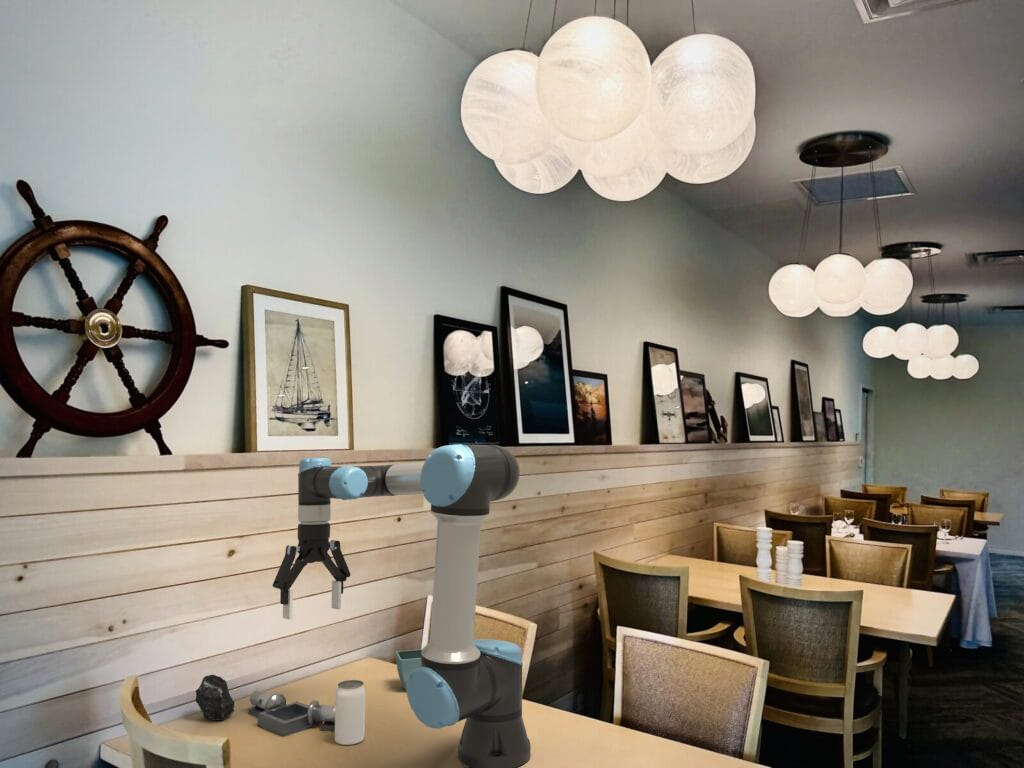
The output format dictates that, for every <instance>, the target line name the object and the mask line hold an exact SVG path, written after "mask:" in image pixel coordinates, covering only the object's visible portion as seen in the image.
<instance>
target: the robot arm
mask: <svg viewBox="0 0 1024 768" xmlns="http://www.w3.org/2000/svg"><path fill="white" fill-rule="evenodd" d="M298 464H299V466H298V474H297V477H298V482H297V483H298V484H297V485H298V488H297V489H298V491H297V492H298V493H297V494H298V498H297V499H298V500H297V502H298V503H297V504H298V505H297V521H298V522H299V523H298V525H297V540H298V544H297V545H289V544H288V545H286V547H285V553H284V557H283V559H282V562H281V564H280V566H279V568H278V570H277V574H276V576H275V578H274V580H273V583H272V588H274V589H278V590H279V592H280V600H279V602H280V605H282V619H285V620H288V621H289V620H293V612H294V611H293V610H294V609H293V607H294V606H293V602H294V600H293V599H294V590H293V589H291V588H292V587H293V585H294V583H295V581H296V580H297V578H298V577H299V575H300V574H301V572H302V571H303V569H304V568H305V566H307V565H308V564H313V563H322V565H324V567H325V568H326V569H327V570H328V572H329V574H330V575H331V576H332V578H333V579H334V580H332V581H331V609H334V610H341V609H342V595H343V594H344V582H346V581H347V578H350V577H351V571H350V568H349V566H348V563H347V562H346V560H345V556H344V554H343V551H342V549H341V541H340V540H335V539H334V540H333V539H332V540H329V539H330V538H331V524H330V523H329V521H330V520H331V499H334V500H335V499H337V500H338V499H339V500H342V501H347V500H348V501H351V500H357V499H361V498H362V499H363V498H371V497H375V498H377V497H396V496H409V495H412V496H413V495H415V496H416V495H423V497H424V499H425V500H426V501H427V502H428V503H429V504H430V513H431V514H432V516H434V517H435V519H436V520H437V524H436V525H437V526H436V541H435V555H434V573H433V589H432V602H431V603H432V604H431V605H432V606H431V619H430V631H429V633H430V634H429V635H430V636H429V642H428V643H427V644H426V645H425V646H424V647H423V648H421V649H422V652H421V666H420V667H418V668H416V669H415V670H414V671H413V672H412V673H411V674H410V675H409V677H408V680H407V691H406V698H407V700H408V704H409V706H410V709H411V710H412V712H413V713H414V715H415V717H416V718H417V719H418V721H420V723H422V724H423V725H424V726H426V727H428V728H430V729H436V730H437V729H443V728H445V727H452V726H454V725H456V724H457V723H459V722H461V721H463V720H465V721H464V724H463V729H462V732H461V734H460V735H461V736H460V738H459V742H458V744H457V750H458V751H457V757H458V760H459V761H460V762H461V763H462V764H463V765H465V766H467V767H470V768H517V767H520V766H522V765H524V764H525V763H527V762H528V761H529V760H530V759H531V756H532V754H531V753H532V752H531V749H532V748H531V742H530V738H529V737H528V734H527V730H526V726H525V723H524V719H523V665H524V663H523V659H522V658H523V656H522V655H523V654H522V650H521V647H520V646H519V645H518V644H516V643H514V642H511V641H507V640H500V639H491V638H490V639H489V638H487V639H486V638H481V639H480V638H477V639H475V637H474V636H475V624H476V611H477V610H476V607H477V592H478V591H477V590H478V576H479V574H478V573H479V563H480V562H479V560H480V559H479V558H480V545H481V543H480V542H481V531H482V529H481V527H482V522H484V521H485V519H487V518H488V517H489V516H490V509H491V508H490V507H491V502H496V501H500V500H503V499H505V498H507V497H508V496H510V495H511V494H512V493H513V492H514V491H515V489H516V488H517V486H518V484H519V481H520V476H521V475H520V474H521V473H520V472H521V470H520V466H519V462H518V460H517V458H516V457H515V456H514V454H513V452H511V451H510V450H508V449H507V448H505V447H503V446H500V445H496V444H462V443H459V444H449V445H443V446H440V447H438V448H436V449H434V450H433V451H432V452H431V454H429V455H428V456H427V457H426V459H425V460H424V461H418V462H406V463H405V462H404V463H395V464H394V463H393V464H383V465H382V464H381V465H343V466H340V465H339V466H336V465H335V466H332V461H331V459H330V458H328V457H305V458H304V457H303V458H301V459H300V461H299V463H298ZM329 550H330V552H331V555H332V557H333V559H332V557H331V555H330V554H329V553H328V552H329ZM296 555H297V557H296Z"/></svg>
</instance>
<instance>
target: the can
mask: <svg viewBox="0 0 1024 768" xmlns="http://www.w3.org/2000/svg"><path fill="white" fill-rule="evenodd" d="M334 701H335V702H334V703H335V704H334V705H335V732H334V741H335V742H336V744H338V745H340V746H353V745H357V744H360V743H361V742H363V740H364V739H365V733H366V732H365V731H366V728H365V727H366V726H365V725H366V689H365V687H364V681H362V680H357V679H347V680H343V681H340V682H338V684H337V688H336V690H335V698H334Z"/></svg>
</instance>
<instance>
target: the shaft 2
mask: <svg viewBox="0 0 1024 768" xmlns="http://www.w3.org/2000/svg"><path fill="white" fill-rule="evenodd" d="M308 706H309V707H308V711H307V722H308V724H309V725H315V721H318V722H323V723H322V724H320V731H321V732H332V733H333V732H334V733H335V704H334V705H333V704H332V705H331V704H320V702H319V701H318V700H315V699H314V700H311V701H310V703H309V705H308Z"/></svg>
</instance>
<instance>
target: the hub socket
mask: <svg viewBox="0 0 1024 768" xmlns="http://www.w3.org/2000/svg"><path fill="white" fill-rule="evenodd" d="M308 707H309V705H308V704H305V703H303V702H300V701H293V702H290V703H286V705H283V706H280V707H277V708H273V709H270V710H267V711H264V712H260V713H258V718H257V726H258V727H260V728H262V729H265V730H267V731H269V732H272V733H273V734H276V735H278V736H280V737H287V736H290V735H293V734H296V733H299V732H301V731H305V730H308V729H311V728H314V727H316V726H319V725H322V724H323V723H324V722H318V721H315V725H309V724H308V722H307V711H308Z"/></svg>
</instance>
